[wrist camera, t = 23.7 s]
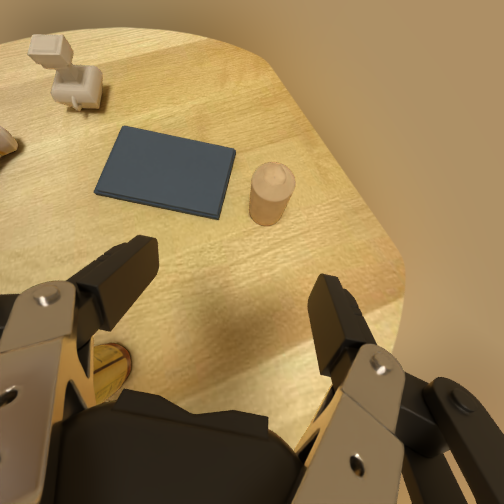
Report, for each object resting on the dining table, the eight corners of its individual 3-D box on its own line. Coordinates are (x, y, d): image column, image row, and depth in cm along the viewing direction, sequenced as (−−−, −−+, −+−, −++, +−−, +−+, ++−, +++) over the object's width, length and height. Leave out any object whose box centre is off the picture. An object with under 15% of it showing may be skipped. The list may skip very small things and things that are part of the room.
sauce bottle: (78, 358, 27) (-332, 506, 8) (123, 332, 28) (-136, 402, 9) (97, 406, 26) (-325, 719, 7) (143, 376, 27) (-103, 571, 8)
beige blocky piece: (105, 121, 36) (65, 67, 28) (66, 120, 35) (13, 66, 27) (111, 81, 38) (76, 21, 30) (74, 80, 37) (28, 19, 29)
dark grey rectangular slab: (96, 194, 32) (90, 190, 31) (124, 129, 36) (120, 122, 34) (218, 220, 33) (217, 216, 31) (235, 153, 36) (235, 147, 34)
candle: (287, 217, 33) (307, 183, 24) (258, 231, 33) (266, 202, 23) (272, 190, 34) (284, 147, 25) (243, 203, 34) (244, 163, 24)
